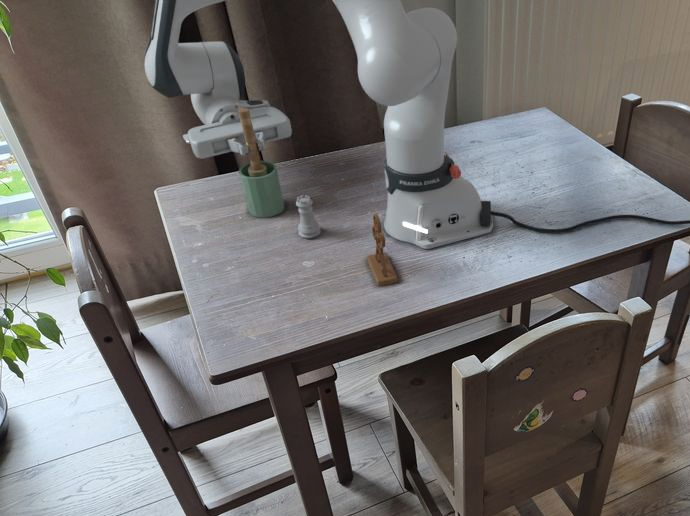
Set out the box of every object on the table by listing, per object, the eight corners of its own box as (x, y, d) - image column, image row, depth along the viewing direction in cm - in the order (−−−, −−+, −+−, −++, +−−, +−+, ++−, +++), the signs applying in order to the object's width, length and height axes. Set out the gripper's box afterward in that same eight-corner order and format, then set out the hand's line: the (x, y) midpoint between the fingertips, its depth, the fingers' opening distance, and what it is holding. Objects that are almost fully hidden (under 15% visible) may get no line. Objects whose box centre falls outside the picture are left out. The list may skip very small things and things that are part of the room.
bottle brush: (270, 185, 134) (253, 105, 122) (271, 193, 131) (253, 113, 119) (253, 187, 133) (233, 107, 121) (253, 195, 130) (233, 114, 119)
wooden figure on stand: (366, 259, 122) (359, 204, 113) (386, 255, 123) (381, 200, 114) (377, 286, 116) (371, 230, 107) (398, 282, 117) (394, 226, 108)
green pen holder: (283, 197, 138) (275, 158, 132) (285, 214, 133) (277, 175, 127) (248, 201, 137) (238, 162, 130) (249, 219, 131) (239, 180, 125)
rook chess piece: (299, 240, 126) (292, 205, 121) (298, 228, 129) (291, 193, 124) (321, 238, 127) (315, 202, 121) (320, 226, 130) (314, 191, 124)
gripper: (175, 119, 127) (196, 146, 118) (273, 98, 135) (299, 121, 127) (184, 149, 131) (205, 177, 123) (279, 126, 139) (304, 151, 131)
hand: (253, 149), depth 125 cm, fingers closed on bottle brush, 2 cm apart
